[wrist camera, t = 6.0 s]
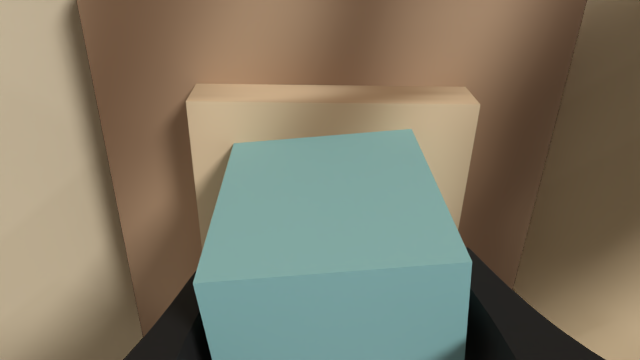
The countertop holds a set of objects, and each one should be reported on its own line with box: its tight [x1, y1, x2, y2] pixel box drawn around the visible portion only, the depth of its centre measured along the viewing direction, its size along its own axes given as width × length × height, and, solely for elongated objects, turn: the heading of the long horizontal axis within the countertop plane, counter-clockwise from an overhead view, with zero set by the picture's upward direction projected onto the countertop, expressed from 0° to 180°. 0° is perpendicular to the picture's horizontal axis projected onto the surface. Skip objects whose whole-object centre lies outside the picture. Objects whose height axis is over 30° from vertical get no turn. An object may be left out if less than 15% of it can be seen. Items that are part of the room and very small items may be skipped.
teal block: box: [193, 129, 472, 360], centre depth 13 cm, size 5×5×6 cm
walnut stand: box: [77, 0, 587, 337], centre depth 17 cm, size 14×14×3 cm
